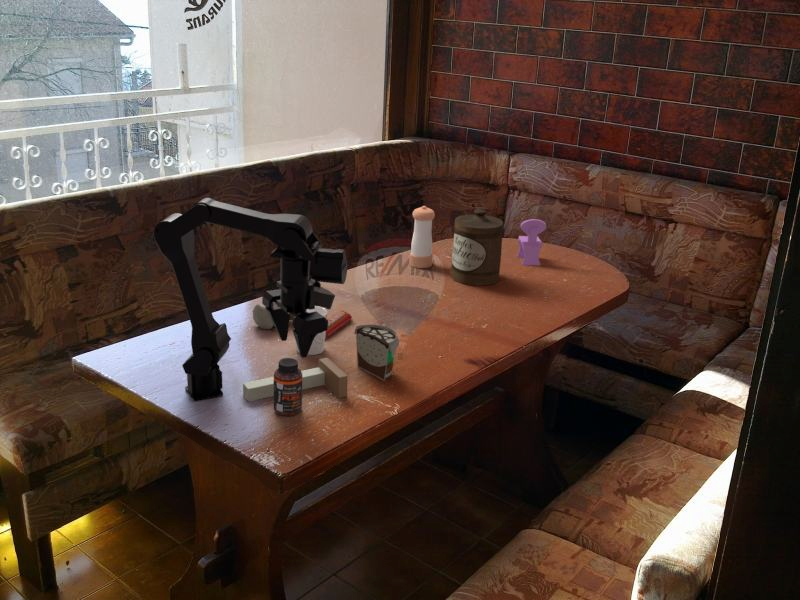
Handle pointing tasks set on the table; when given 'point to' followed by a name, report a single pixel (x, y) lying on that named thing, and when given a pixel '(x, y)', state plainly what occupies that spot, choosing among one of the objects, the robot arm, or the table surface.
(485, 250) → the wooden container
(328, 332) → the candy bar
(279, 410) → the supplement bottle
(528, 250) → the toy chair
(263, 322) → the ceramic sculpture
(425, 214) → the pepper shaker
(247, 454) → the table surface
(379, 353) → the food container
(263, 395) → the wall board
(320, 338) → the white cup
